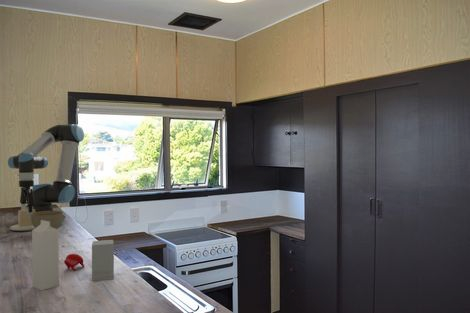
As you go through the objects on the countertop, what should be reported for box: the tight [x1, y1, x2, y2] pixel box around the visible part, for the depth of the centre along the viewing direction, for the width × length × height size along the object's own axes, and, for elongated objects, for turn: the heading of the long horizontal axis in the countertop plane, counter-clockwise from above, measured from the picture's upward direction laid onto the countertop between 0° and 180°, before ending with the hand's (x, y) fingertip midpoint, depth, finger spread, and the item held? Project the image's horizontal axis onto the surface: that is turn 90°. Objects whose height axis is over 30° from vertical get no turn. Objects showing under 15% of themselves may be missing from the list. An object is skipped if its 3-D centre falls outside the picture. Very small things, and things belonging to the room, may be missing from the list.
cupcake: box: [58, 205, 66, 226], centre depth 236 cm, size 9×8×12 cm
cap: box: [63, 253, 85, 272], centre depth 150 cm, size 8×6×6 cm
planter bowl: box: [31, 210, 64, 230], centre depth 215 cm, size 16×16×11 cm
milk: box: [31, 220, 60, 291], centre depth 131 cm, size 6×6×22 cm
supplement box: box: [91, 239, 115, 282], centre depth 140 cm, size 7×7×13 cm
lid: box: [9, 209, 35, 232], centre depth 226 cm, size 17×17×10 cm
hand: (26, 216), depth 226 cm, fingers open, 13 cm apart
